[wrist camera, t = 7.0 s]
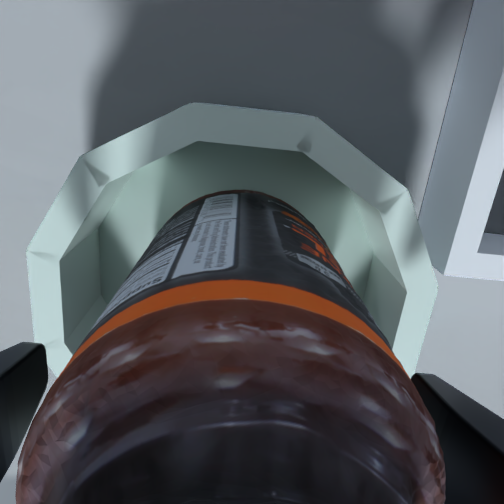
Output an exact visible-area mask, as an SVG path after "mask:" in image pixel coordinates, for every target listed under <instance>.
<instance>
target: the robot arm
mask: <svg viewBox="0 0 504 504" xmlns="http://www.w3.org/2000/svg"><path fill="white" fill-rule="evenodd" d="M411 381H412V382H413V384H414V386H415V388H416V390H417V391H418V393H419V395H420V397H421V398H422V401H423V403H424V405H425V406H426V408H427V410H428V411H429V413H430V415H431V417H432V418H433V420H434V422H435V430H436V434H437V436H438V438H439V443H440V446H441V449H442V451H443V460H444V463H445V474H446V481H445V497H446V499H445V502H444V504H504V419H502V418H501V417H499V416H498V415H496V414H495V413H493V412H492V411H490V410H488V409H487V408H485V407H484V406H482V405H481V404H479V403H478V402H476V401H475V400H473V399H471V398H470V397H468V396H467V395H465V394H464V393H462V392H461V391H459V390H457V389H456V388H454V387H453V386H451V385H450V384H448V383H447V382H445V381H443V380H442V379H440V378H439V377H437V376H436V375H433V374H425V373H415V374H413V376H412V377H411ZM47 383H48V368H47V355H46V348H45V346H44V345H43V344H42V343H31V342H22V343H19V344H17V345H14V346H12V347H10V348H8V349H5V350H3V351H1V352H0V482H1V480H2V479H3V477H4V475H5V474H6V472H7V470H8V468H9V467H10V465H11V463H12V461H13V459H14V457H15V455H16V453H17V451H18V449H19V447H20V445H21V443H22V441H23V438H24V436H25V434H26V432H27V430H28V427H29V425H30V423H31V421H32V419H33V416H34V414H35V412H36V410H37V408H38V405H39V403H40V401H41V399H42V397H43V394H44V392H45V390H46V387H47Z"/></svg>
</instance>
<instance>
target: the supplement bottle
mask: <svg viewBox="0 0 504 504" xmlns="http://www.w3.org/2000/svg"><path fill="white" fill-rule="evenodd" d="M445 481H446V474H445V463H444V460H443V451H442V449H441V446H440V443H439V438H438V436H437V434H436V430H435V422H434V420H433V418H432V417H431V415H430V413H429V411H428V410H427V408H426V406H425V405H424V403H423V401H422V398H421V397H420V395H419V393H418V391H417V390H416V388H415V386H414V384H413V382H412V381H411V379H410V377H409V376H408V374H407V373H406V371H405V370H404V368H403V366H402V364H401V362H400V361H399V360H398V359H397V358H396V356H395V355H394V353H393V351H392V348H391V346H390V344H389V342H388V340H387V338H386V337H385V335H384V334H383V333H382V331H381V330H380V328H379V327H378V326H377V324H376V322H375V320H374V319H373V317H372V315H371V314H370V312H369V310H368V309H367V307H366V306H365V304H364V303H363V301H362V299H361V298H360V296H359V295H358V294H357V293H356V292H355V290H354V288H353V287H352V285H351V283H350V281H349V280H348V279H347V277H346V276H345V274H344V272H343V270H342V268H341V267H340V264H339V263H338V261H337V260H336V259H335V258H334V256H333V254H332V253H331V251H330V249H329V247H328V246H327V244H326V241H325V240H324V239H323V237H322V236H321V235H320V233H319V232H318V231H317V229H316V228H315V226H314V225H313V224H312V223H311V222H310V221H308V220H307V219H306V218H305V217H304V215H302V214H301V213H300V212H299V211H298V210H296V209H295V208H294V207H292V206H291V205H289V204H288V203H286V202H284V201H283V200H281V199H278V198H276V197H273V196H271V195H268V194H265V193H263V192H259V191H251V190H226V191H219V192H215V193H212V194H207V195H204V196H202V197H199V198H197V199H195V200H193V201H191V202H190V203H188V204H186V205H185V206H183V207H182V208H181V209H180V210H179V211H177V212H176V213H175V214H174V215H173V216H172V217H171V218H170V219H169V220H168V221H167V222H166V223H165V224H164V225H163V227H162V228H161V229H160V230H159V232H158V233H157V234H156V236H155V237H154V238H153V240H152V241H151V243H150V244H149V246H148V248H147V249H146V250H145V252H144V253H143V255H142V256H141V258H140V259H139V260H138V262H137V263H136V265H135V266H134V268H133V269H132V270H131V272H130V274H129V275H128V277H127V278H126V279H125V281H124V282H123V284H122V285H121V286H120V288H119V290H118V291H117V292H116V294H115V295H114V297H113V298H112V300H111V301H110V303H109V304H108V306H107V307H106V308H105V310H104V311H103V313H102V314H101V316H100V317H99V318H98V320H97V321H96V323H95V324H94V326H93V327H92V328H91V330H90V331H89V333H88V334H87V336H86V337H85V338H84V340H83V341H82V343H81V344H80V346H79V347H78V349H77V350H76V352H75V353H74V355H73V356H72V358H71V359H70V361H69V362H68V364H67V365H66V367H65V368H64V370H63V371H62V372H61V374H60V375H59V377H58V378H57V379H56V381H55V382H54V384H53V385H52V387H51V388H50V390H49V392H48V393H47V395H46V397H45V399H44V401H43V403H42V405H41V407H40V408H39V410H38V412H37V414H36V415H35V417H34V419H33V421H32V424H31V426H30V429H29V432H28V434H27V437H26V439H25V442H24V445H23V447H22V451H21V454H20V457H19V460H18V471H17V481H16V504H444V502H445V499H446V497H445Z"/></svg>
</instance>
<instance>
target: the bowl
mask: <svg viewBox="0 0 504 504" xmlns="http://www.w3.org/2000/svg"><path fill="white" fill-rule="evenodd" d="M226 190H251V191H259V192H263V193H265V194H268V195H271V196H273V197H276V198H278V199H281V200H283V201H284V202H286V203H288V204H289V205H291V206H292V207H294V208H295V209H296V210H298V211H299V212H300V213H301V214H302V215H304V217H305V218H306V219H307V220H308V221H310V222H311V223H312V224H313V225H314V226H315V228H316V229H317V231H318V232H319V233H320V235H321V236H322V237H323V239H324V240H325V241H326V244H327V246H328V247H329V249H330V251H331V253H332V254H333V256H334V258H335V259H336V260H337V261H338V263H339V264H340V267H341V268H342V270H343V272H344V274H345V276H346V277H347V279H348V280H349V281H350V283H351V285H352V287H353V288H354V290H355V292H356V293H357V294H358V295H359V296H360V298H361V299H362V301H363V303H364V304H365V306H366V307H367V309H368V310H369V312H370V314H371V315H372V317H373V319H374V320H375V322H376V324H377V326H378V327H379V328H380V330H381V331H382V333H383V334H384V335H385V337H386V338H387V340H388V342H389V344H390V346H391V348H392V351H393V353H394V355H395V356H396V358H397V359H398V360H399V361H400V362H401V364H402V366H403V368H404V370H405V371H406V373H407V374H408V376H409V377H410V379H411V377H412V376H413V374H414V372H415V368H416V365H417V361H418V358H419V354H420V351H421V347H422V344H423V340H424V337H425V333H426V330H427V327H428V323H429V320H430V316H431V313H432V309H433V306H434V302H435V299H436V295H437V292H438V287H439V286H438V283H437V280H436V277H435V274H434V271H433V267H432V264H431V261H430V258H429V255H428V251H427V248H426V245H425V242H424V239H423V235H422V232H421V229H420V226H419V223H418V219H417V216H416V213H415V210H414V207H413V203H412V200H411V197H410V194H409V191H408V190H407V188H405V187H404V186H403V185H402V184H400V183H399V182H398V181H397V180H395V179H394V178H393V177H392V176H390V175H389V174H388V173H387V172H385V171H384V170H383V169H382V168H380V167H379V166H378V165H377V164H375V163H374V162H373V161H372V160H370V159H369V158H368V157H367V156H365V155H364V154H363V153H362V152H360V151H359V150H358V149H357V148H355V147H354V146H353V145H352V144H350V143H349V142H348V141H347V140H345V139H344V138H343V137H342V136H340V135H339V134H338V133H337V132H335V131H334V130H333V129H332V128H330V127H329V126H328V125H327V124H325V123H324V122H323V121H322V120H320V119H319V118H318V117H316V116H311V115H305V114H300V113H292V112H283V111H274V110H265V109H256V108H247V107H238V106H229V105H220V104H211V103H188V104H186V105H184V106H182V107H180V108H178V109H176V110H174V111H172V112H170V113H168V114H166V115H163V116H161V117H159V118H157V119H155V120H153V121H151V122H149V123H147V124H145V125H143V126H141V127H139V128H137V129H135V130H133V131H130V132H128V133H126V134H124V135H122V136H120V137H118V138H116V139H114V140H112V141H110V142H108V143H106V144H104V145H102V146H100V147H97V148H95V149H93V150H91V151H89V152H87V153H85V154H83V155H81V156H80V157H79V159H78V160H77V162H76V164H75V165H74V167H73V169H72V171H71V172H70V174H69V176H68V178H67V179H66V181H65V183H64V185H63V186H62V188H61V190H60V192H59V193H58V195H57V197H56V199H55V200H54V202H53V204H52V206H51V207H50V209H49V211H48V213H47V214H46V216H45V218H44V220H43V221H42V223H41V225H40V227H39V228H38V230H37V232H36V234H35V235H34V237H33V239H32V241H31V242H30V244H29V246H28V248H27V249H26V250H27V251H26V256H27V267H28V278H29V289H30V300H31V311H32V322H33V333H34V343H42V344H43V345H44V346H45V348H46V355H47V365H48V366H49V367H50V369H51V370H52V371H53V373H54V374H55V375H56V377H57V378H58V377H59V375H60V374H61V372H62V371H63V370H64V368H65V367H66V365H67V364H68V362H69V361H70V359H71V358H72V356H73V355H74V353H75V352H76V350H77V349H78V347H79V346H80V344H81V343H82V341H83V340H84V338H85V337H86V336H87V334H88V333H89V331H90V330H91V328H92V327H93V326H94V324H95V323H96V321H97V320H98V318H99V317H100V316H101V314H102V313H103V311H104V310H105V308H106V307H107V306H108V304H109V303H110V301H111V300H112V298H113V297H114V295H115V294H116V292H117V291H118V290H119V288H120V286H121V285H122V284H123V282H124V281H125V279H126V278H127V277H128V275H129V274H130V272H131V270H132V269H133V268H134V266H135V265H136V263H137V262H138V260H139V259H140V258H141V256H142V255H143V253H144V252H145V250H146V249H147V248H148V246H149V244H150V243H151V241H152V240H153V238H154V237H155V236H156V234H157V233H158V232H159V230H160V229H161V228H162V227H163V225H164V224H165V223H166V222H167V221H168V220H169V219H170V218H171V217H172V216H173V215H174V214H175V213H176V212H177V211H179V210H180V209H181V208H182V207H183V206H185V205H186V204H188V203H190V202H191V201H193V200H195V199H197V198H199V197H202V196H204V195H207V194H212V193H215V192H219V191H226Z"/></svg>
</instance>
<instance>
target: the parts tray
mask: <svg viewBox="0 0 504 504" xmlns="http://www.w3.org/2000/svg"><path fill="white" fill-rule="evenodd" d="M503 169H504V0H474V3H473V7H472V11H471V15H470V19H469V23H468V27H467V30H466V34H465V38H464V42H463V46H462V50H461V54H460V58H459V62H458V66H457V70H456V74H455V78H454V82H453V86H452V90H451V93H450V97H449V101H448V105H447V109H446V113H445V117H444V121H443V125H442V129H441V133H440V137H439V141H438V145H437V149H436V153H435V156H434V160H433V164H432V168H431V172H430V176H429V180H428V184H427V188H426V192H425V196H424V200H423V204H422V208H421V212H420V215H419V219H418V223H419V226H420V229H421V232H422V235H423V239H424V242H425V245H426V248H427V251H428V255H429V258H430V261H431V264H432V266H433V267H434V268H435V269H437V270H438V271H439V272H440V273H441V274H442V275H444V276H455V277H466V278H477V279H488V280H499V281H504V235H501V234H491V233H483V232H484V229H485V226H486V223H487V220H488V216H489V213H490V210H491V207H492V204H493V200H494V197H495V194H496V191H497V188H498V185H499V181H500V178H501V175H502V172H503Z"/></svg>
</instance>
